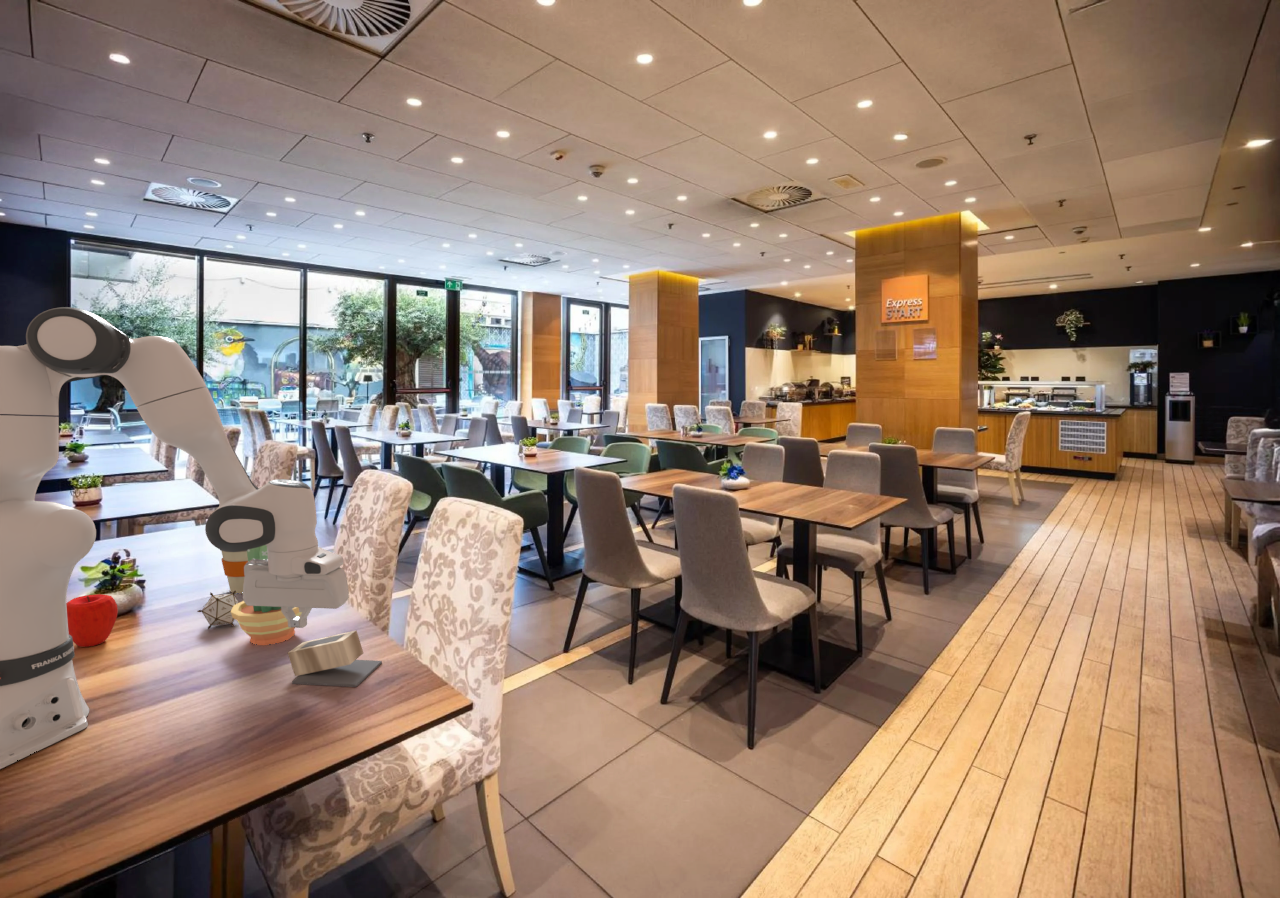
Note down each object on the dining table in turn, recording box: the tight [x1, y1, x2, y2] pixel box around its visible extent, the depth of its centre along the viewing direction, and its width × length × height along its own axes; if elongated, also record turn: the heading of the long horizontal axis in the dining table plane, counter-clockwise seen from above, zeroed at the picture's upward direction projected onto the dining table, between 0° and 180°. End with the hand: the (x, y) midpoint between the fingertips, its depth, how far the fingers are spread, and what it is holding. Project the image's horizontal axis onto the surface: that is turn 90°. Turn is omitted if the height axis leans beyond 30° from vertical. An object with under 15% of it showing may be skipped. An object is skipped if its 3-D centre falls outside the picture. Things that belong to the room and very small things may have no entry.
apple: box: [66, 593, 119, 648], centre depth 135 cm, size 9×9×11 cm
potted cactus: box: [231, 545, 302, 646], centre depth 138 cm, size 15×15×25 cm
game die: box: [197, 590, 240, 630], centre depth 145 cm, size 9×8×10 cm
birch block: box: [287, 630, 364, 677], centre depth 123 cm, size 5×5×12 cm
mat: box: [291, 659, 383, 688], centre depth 123 cm, size 10×13×1 cm
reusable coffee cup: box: [220, 550, 248, 594], centre depth 170 cm, size 13×13×15 cm
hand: (297, 626), depth 123 cm, fingers closed
